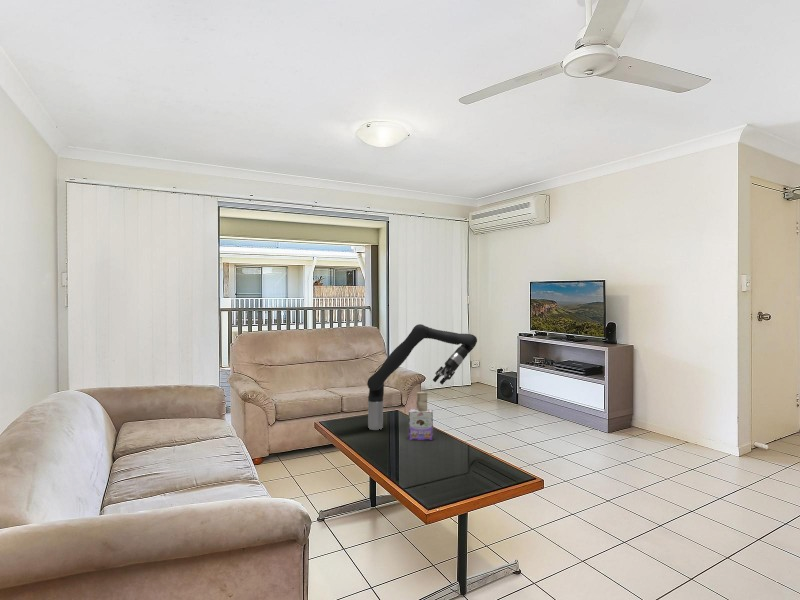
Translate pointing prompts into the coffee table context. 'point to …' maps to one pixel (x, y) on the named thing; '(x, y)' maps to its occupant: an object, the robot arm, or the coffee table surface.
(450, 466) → the coffee table surface
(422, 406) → the birch block
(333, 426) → the coffee table surface
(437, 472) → the coffee table surface
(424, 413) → the candy box
